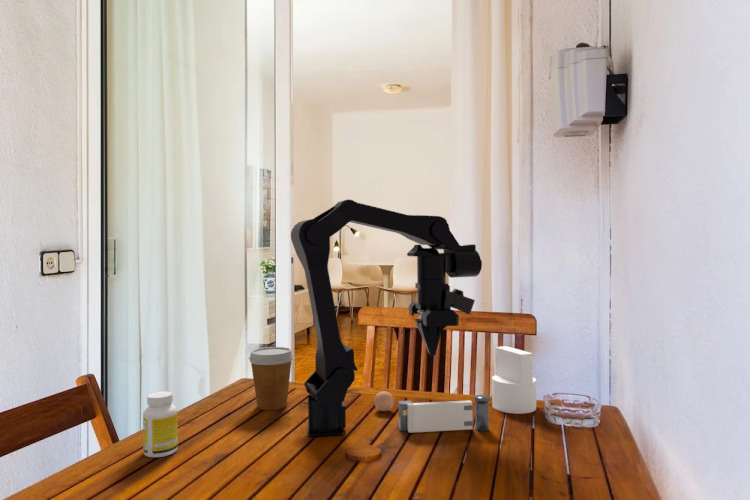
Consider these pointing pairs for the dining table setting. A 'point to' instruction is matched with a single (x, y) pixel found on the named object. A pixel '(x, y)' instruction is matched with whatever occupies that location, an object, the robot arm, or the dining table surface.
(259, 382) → the disposable coffee cup
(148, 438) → the supplement bottle
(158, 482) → the dining table surface
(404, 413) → the post
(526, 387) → the base with upright slab
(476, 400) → the hinge post
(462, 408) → the long white bar
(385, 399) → the ball
